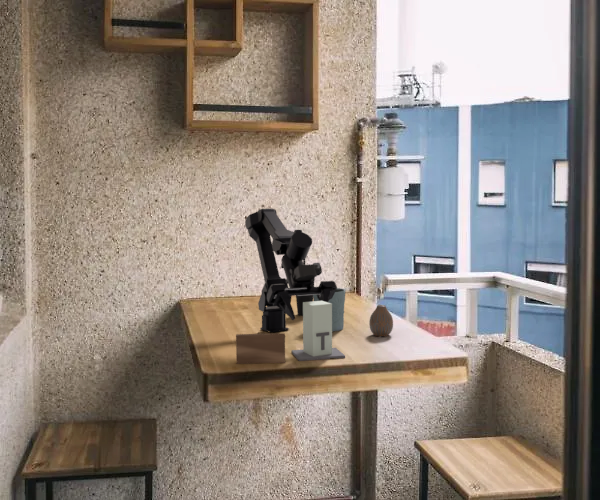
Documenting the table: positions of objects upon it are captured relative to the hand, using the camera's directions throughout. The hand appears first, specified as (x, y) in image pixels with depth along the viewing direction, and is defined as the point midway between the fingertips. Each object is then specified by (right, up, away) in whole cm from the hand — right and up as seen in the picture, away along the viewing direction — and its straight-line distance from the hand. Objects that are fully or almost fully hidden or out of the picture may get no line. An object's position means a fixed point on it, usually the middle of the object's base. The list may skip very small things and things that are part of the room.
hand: (310, 317), depth 177 cm
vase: (+21, -7, +19) cm, 30 cm away
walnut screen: (-12, -10, -11) cm, 19 cm away
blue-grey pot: (+6, -6, +30) cm, 31 cm away
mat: (+2, -9, -4) cm, 10 cm away
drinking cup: (-1, -4, +52) cm, 53 cm away
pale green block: (+2, -9, -4) cm, 10 cm away
